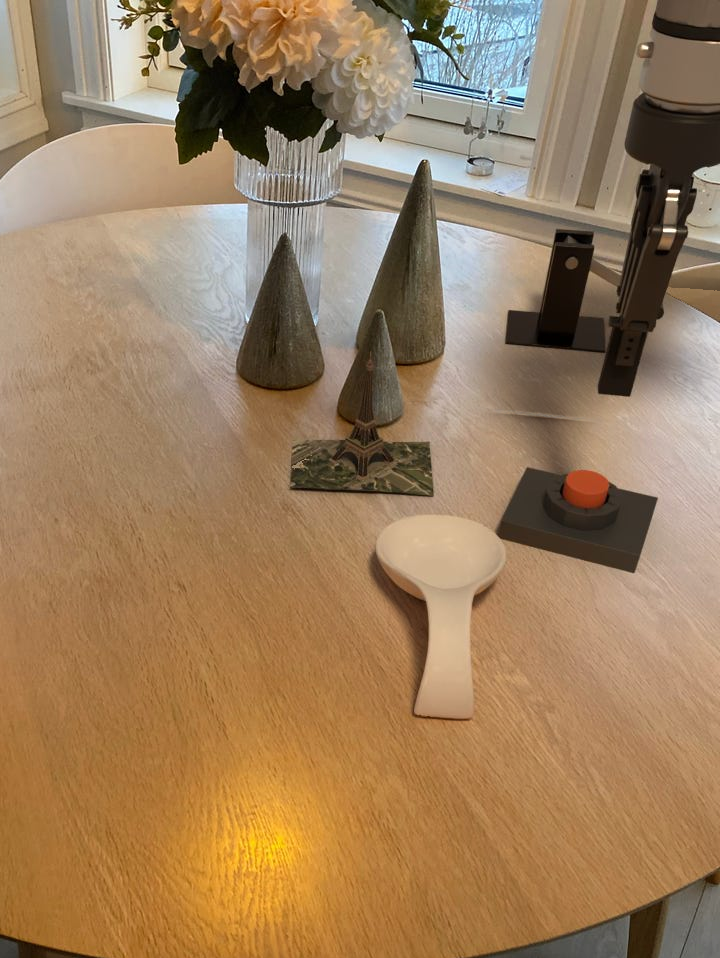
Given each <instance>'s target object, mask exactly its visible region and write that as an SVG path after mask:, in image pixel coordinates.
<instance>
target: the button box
mask: <svg viewBox="0 0 720 958" xmlns="http://www.w3.org/2000/svg"><path fill="white" fill-rule="evenodd" d="M568 474H569V473H562V474H558V473H554V472H549V471H545V470H541V469H537V468H532V467H528V466H527V467H526V468H525V469H524V472H523V474H522V476H521V478H520V479H519V482H518V484H517V487H516V488H515V490H514V493H513V495H512V497H511V499H510V501H509V503H508V504H507V507H506V509H505V511H504V513H503V515H502V517H501V519H500V522H499V528H498V531H497V536H498V537H499V538H500V539H501V540H502V541H507V542H511V543H515V544H519V545H523V546H527V547H531V548H535V549H538V550H541V551H546V552H549V553H554V554H557V555H562V556H565V557H569V558H573V559H577V560H581V561H585V562H589V563H593V564H596V565H601V566H604V567H606V568H607V567H608V568H612V569H615V570H619V571H623V572H628V573H631V574H636V570H637V567H638V564H639V561H640V558H641V556H642V552H643V549H644V545H645V542H646V538H647V535H648V532H649V529H650V526H651V523H652V520H653V516H654V513H655V509H656V506H657V503H658V499H659V497H657V496H653V495H648V494H645V493H640V492H636V491H631V490H628V489H622V488H619V487H618V486H617V485H615V484H614V483H612V482H611V481H609V480H608V482H609V489H608V492H607V496H606V499H605V502H604V503H603V505H601V506H600V507H596V508H584V507H580V506H575V505H572V504H570V503H569V502H567V501H566V500H565V499H564V498H563V495H562V492H563V488H564V484H565V480H566V477H567V475H568Z"/></svg>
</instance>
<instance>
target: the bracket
mask: <svg viewBox="0 0 720 958" xmlns="http://www.w3.org/2000/svg"><path fill="white" fill-rule="evenodd" d="M568 235H569V236H570V237H572V238H574V239H576V240H577V241H579V242H581V243H582V244H576V243H563V242H564V240H565V239H566V238H567V236H568ZM594 236H595V232H594V230H593V231H592V230H577V229H564V228H562V229H561V228H555V231H554V237H553V242H552V247H551V250H550V251H551V252H550V255H549V256H550V257H549V262H548V267H547V272H546V277H545V281H544V287H543V292H542V297H541V302H540V308H539V311H526V310H514V309H508V310H507V319H506V327H505V328H506V329H505V341H504V345H508V346H509V345H510V346H520V347H521V346H522V347H530V348H531V347H532V348H543V349H555V350H564V351H577V352H589V353H599V354H606V350H607V345H606V329H605V318H604V317H599V316H587V315H580V314H581V309H582V305H583V302H584V296H585V291H586V288H587V283H588V278H589V274H590V271H589V270H590V266H591V261H592V259H593V257H594V251H595V244H593V242H594V241H593V240H594Z"/></svg>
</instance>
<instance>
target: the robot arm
mask: <svg viewBox="0 0 720 958" xmlns="http://www.w3.org/2000/svg"><path fill="white" fill-rule="evenodd" d="M651 21H652V22H651V28H650V31H649V36H650V41H644V42H640V43H639V44H638V45H637V48H636V51H635V55H636V56H637V58H639V59H644V60H643V63H642V65H641V70H640V76H639V80H638V88H639V89H640V91H641V92H642V93H640V94H639V95H637V97H636V98H635V99H634V101H633V103H632V106H631V107H632V108H631V111H630V117H629V121H628V124H627V130H626V135H625V138H624V150H625V153H626V154H627V155H628V156H630V157H631V158H632V159H634V160H635V161H638V162H640V163H641V164H645V165H649V168H648V169H642V171H641V173H639V175H638V177H637V182H636V186H635V197H636V200H635V205H634V209H633V213H632V217H631V221H630V222H631V223H630V231H629V237H628V241H627V245H626V251H625V255H624V260H623V265H622V269H621V274H620V275H621V278H620V283H619V286H618V287H616V296H617V298H618V302H616V304H615V310H616V314H618V316H616V315H609V318H608V323H607V324H608V325H607V326H608V327H609V328H611V330H610V334H609V337H608V338H609V339H608V342H607V345H606V352H605V353H604V359H603V362H602V365H601V371H600V375H599V379H598V383H597V394H598V395H604V396H616V397H628V398H631V395H632V391H633V388H634V384H635V380H636V377H637V373H638V370H639V366H640V362H641V358H642V356H643V351H644V348H645V344H646V341H647V336H648V334H649V333H653V332H654V330H655V329H656V326H657V321H658V320H657V317H658V314H659V311H660V308H661V305H662V302H663V303H664V299H665V296H666V294H667V289H668V287H669V284H670V281H671V278H672V275H673V272H674V269H675V266H676V263H677V260H678V257H679V254H680V252H681V250H682V248H683V246H684V243H685V241H686V239H688V236H689V226H688V225H686V222H687V219H688V217H689V215H691V213H692V212H693V210H694V207H695V204H696V199H697V195H698V188H697V187H693V186H694V181H695V176H694V173H695V172H697V171H699V170H701V169H703V168H712V167H715V166H718V165H720V0H656V6H655V10H654V13H653V16H652V20H651Z"/></svg>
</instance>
